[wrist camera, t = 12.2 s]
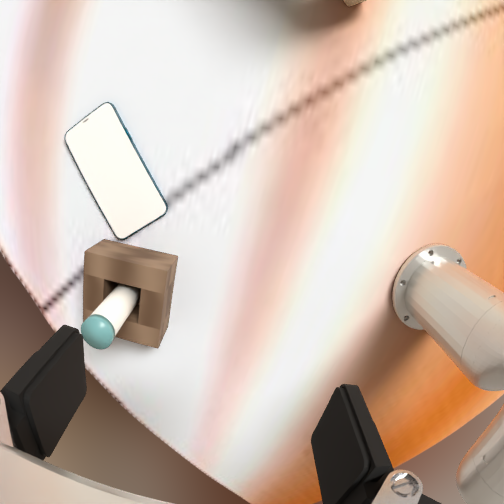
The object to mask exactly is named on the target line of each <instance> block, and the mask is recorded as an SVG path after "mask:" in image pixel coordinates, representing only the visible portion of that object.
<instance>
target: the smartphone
mask: <svg viewBox="0 0 504 504" xmlns="http://www.w3.org/2000/svg"><path fill="white" fill-rule="evenodd" d="M65 142H66V144H67V146H68V148H69V150H70V152H71V154H72V156H73V158H74V160H75V162H76V164H77V166H78V168H79V170H80V172H81V174H82V176H83V178H84V180H85V182H86V184H87V186H88V188H89V189H90V191H91V193H92V195H93V197H94V199H95V201H96V202H97V204H98V206H99V208H100V210H101V211H102V213H103V215H104V217H105V218H106V220H107V222H108V224H109V225H110V227H111V229H112V231H113V232H114V234H115V236H116V237H117V238H119V239H126V238H127V237H129V236H130V235H132V234H134V233H135V232H137V231H138V230H140V229H142V228H143V227H145V226H147V225H148V224H150V223H152V222H153V221H155V220H157V219H158V218H160V217H162V216H163V215H165V214H166V212H167V210H168V205H167V203H166V201H165V199H164V197H163V196H162V194H161V192H160V190H159V188H158V187H157V185H156V183H155V181H154V179H153V178H152V176H151V174H150V172H149V170H148V168H147V167H146V165H145V163H144V161H143V159H142V157H141V156H140V154H139V152H138V150H137V148H136V146H135V144H134V143H133V141H132V138H131V136H130V134H129V132H128V130H127V129H126V127H125V125H124V124H123V122H122V120H121V118H120V116H119V114H118V112H117V110H116V108H115V106H114V105H113V104H112V103H109V102H105V103H103V104H102V105H100V106H99V107H98V108H96V109H95V110H94V111H92V112H91V113H90V114H88V115H87V116H86V117H84V118H83V119H82V120H81V121H79V122H78V123H77V124H76V125H74V126H73V127H72V128H71V129H70V130H68V131H67V132H66V134H65Z"/></svg>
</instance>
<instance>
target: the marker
mask: <svg viewBox="0 0 504 504" xmlns="http://www.w3.org/2000/svg"><path fill="white" fill-rule="evenodd" d="M140 295H141V288H137V287H133V286H129V285H125V284H121V283H119V284H118V285H117V287H116V288H115V289H114V290H113V291H112V292H111V293H110V294H109V295H108V296H107V297H106V298H105V300H104V301H103V302H102V303H101V304H100V305H99V306H98V307H97V308H96V310H95V311H94V312H93V313H92V314H91V315H90V316H89V317H88V318H87V319H86V320H85V321H84V322H83V324H82V326H81V333H82V336H83V338H84V340H85V341H86V342H87V343H88V344H89V345H90V346H92V347H94V348H96V349H105V348H107V347H109V346H110V344H111V342H112V341H113V339H114V337H115V335H116V334H117V332H118V331H119V329H120V328H121V326H122V325H123V323H124V322H125V320H126V319H127V318H128V316H129V315H130V313H131V312H132V310H133V309H134V307H135V306H136V304H137V303H138V301H139V300H140Z"/></svg>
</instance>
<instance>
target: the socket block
mask: <svg viewBox="0 0 504 504" xmlns="http://www.w3.org/2000/svg"><path fill="white" fill-rule="evenodd" d="M177 260H178V256H176V255H171V254H167V253H162V252H158V251H153V250H149V249H145V248H140V247H136V246H132V245H127V244H123V243H119V242H114V241H110V240H106V239H104V240H102V241H100V242H99V243H97V244H95V245H94V246H92V247H91V248H89V249H87V250H86V251H85V256H84V281H83V322H84V321H85V320H86V319H87V318H88V317H89V316H90V315H91V314H92V313H93V312H94V311H95V310H96V308H97V307H98V306H99V305H100V304H101V303H102V302H103V301H104V300H105V298H106V297H107V296H108V295H109V294H110V293H111V292H112V291H113V290H114V289H115V288H116V287H117V285H118V284H119V283H121V284H125V285H129V286H133V287H137V288H141V295H140V300H139V301H138V303H137V304H136V306H135V307H134V309H133V310H132V312H131V313H130V315H129V316H128V318H127V319H126V320H125V322H124V323H123V325H122V326H121V328H120V329H119V331H118V332H117V334H116V335H115V337H118V338H121V339H125V340H128V341H132V342H136V343H139V344H143V345H147V346H151V347H154V348H159V345H160V343H161V341H162V339H163V336H164V334H165V332H166V330H167V328H168V323H169V315H170V308H171V300H172V293H173V286H174V280H175V273H176V267H177Z"/></svg>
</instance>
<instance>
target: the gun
mask: <svg viewBox="0 0 504 504" xmlns="http://www.w3.org/2000/svg"><path fill="white" fill-rule="evenodd" d="M343 1H344V2H345V3H346V5H347V6H348V7H350V6H353V5H356V4H358V3H361V2H364V1H366V0H343Z"/></svg>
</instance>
